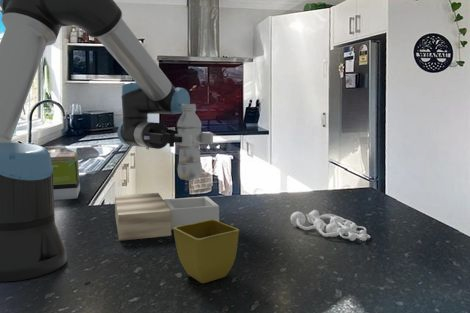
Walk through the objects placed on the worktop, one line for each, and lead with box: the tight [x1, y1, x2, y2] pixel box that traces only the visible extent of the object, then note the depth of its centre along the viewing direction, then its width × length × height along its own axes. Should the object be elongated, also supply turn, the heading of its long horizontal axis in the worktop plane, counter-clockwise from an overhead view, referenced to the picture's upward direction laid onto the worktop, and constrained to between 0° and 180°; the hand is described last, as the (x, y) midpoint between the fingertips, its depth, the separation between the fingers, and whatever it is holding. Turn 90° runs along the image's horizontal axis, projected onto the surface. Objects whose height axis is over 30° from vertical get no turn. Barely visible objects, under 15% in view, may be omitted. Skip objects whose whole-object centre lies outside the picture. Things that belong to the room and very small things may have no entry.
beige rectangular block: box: [114, 192, 172, 242], centre depth 106 cm, size 22×12×6 cm, turn 18°
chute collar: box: [163, 195, 220, 231], centre depth 110 cm, size 12×12×5 cm
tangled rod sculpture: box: [290, 209, 371, 242], centre depth 101 cm, size 19×14×4 cm
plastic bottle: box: [176, 103, 203, 181], centre depth 108 cm, size 6×7×20 cm
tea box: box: [49, 151, 81, 201], centre depth 143 cm, size 15×10×15 cm, turn 17°
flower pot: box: [172, 219, 240, 284], centre depth 73 cm, size 9×9×9 cm
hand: (201, 139), depth 104 cm, fingers closed on plastic bottle, 6 cm apart
